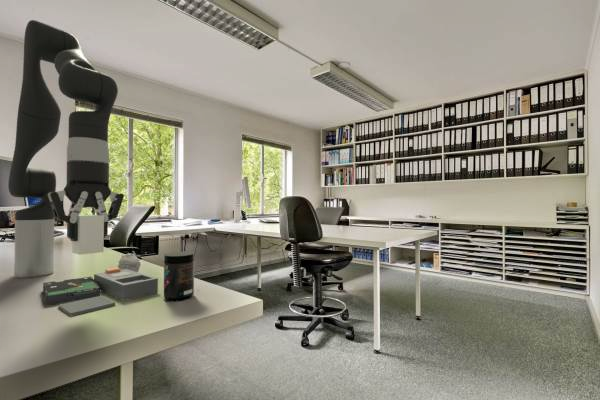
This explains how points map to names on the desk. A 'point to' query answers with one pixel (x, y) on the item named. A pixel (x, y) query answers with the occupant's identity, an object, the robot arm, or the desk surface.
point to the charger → (89, 235)
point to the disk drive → (70, 290)
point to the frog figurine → (129, 262)
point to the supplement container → (178, 276)
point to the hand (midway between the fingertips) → (87, 239)
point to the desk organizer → (126, 283)
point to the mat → (86, 305)
